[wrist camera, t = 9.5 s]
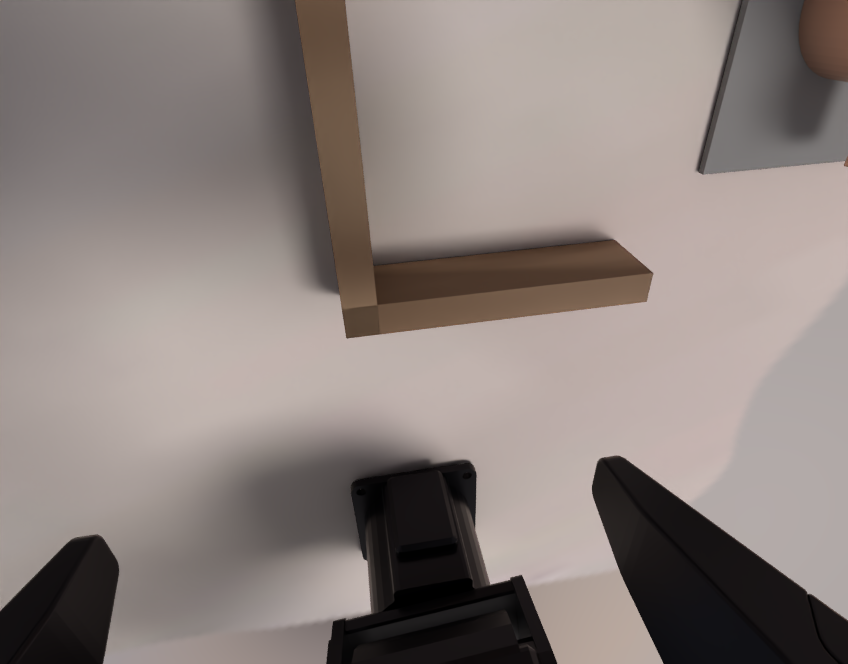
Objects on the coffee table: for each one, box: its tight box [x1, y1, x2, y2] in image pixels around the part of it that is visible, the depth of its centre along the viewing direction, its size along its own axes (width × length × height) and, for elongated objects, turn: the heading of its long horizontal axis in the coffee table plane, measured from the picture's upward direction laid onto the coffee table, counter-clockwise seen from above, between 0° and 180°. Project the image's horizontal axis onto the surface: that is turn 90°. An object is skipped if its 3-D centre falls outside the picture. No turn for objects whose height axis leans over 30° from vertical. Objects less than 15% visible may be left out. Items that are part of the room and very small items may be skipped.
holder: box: [295, 0, 653, 338], centre depth 15 cm, size 18×11×3 cm, turn 2°
